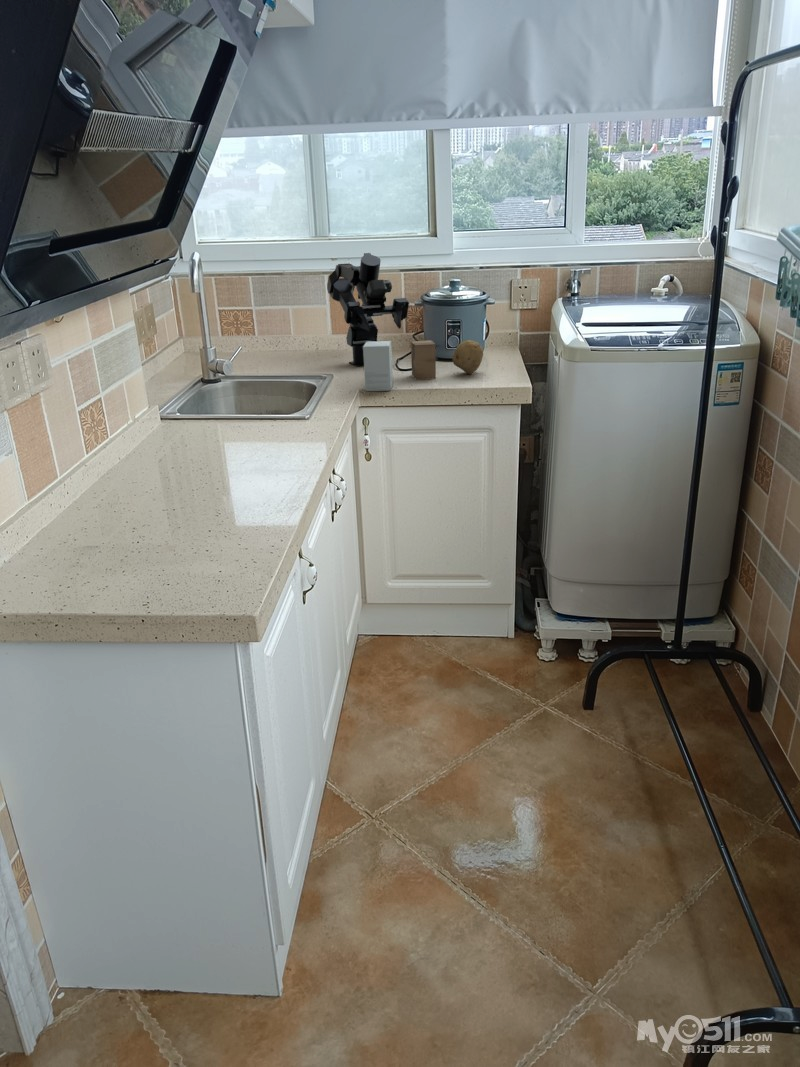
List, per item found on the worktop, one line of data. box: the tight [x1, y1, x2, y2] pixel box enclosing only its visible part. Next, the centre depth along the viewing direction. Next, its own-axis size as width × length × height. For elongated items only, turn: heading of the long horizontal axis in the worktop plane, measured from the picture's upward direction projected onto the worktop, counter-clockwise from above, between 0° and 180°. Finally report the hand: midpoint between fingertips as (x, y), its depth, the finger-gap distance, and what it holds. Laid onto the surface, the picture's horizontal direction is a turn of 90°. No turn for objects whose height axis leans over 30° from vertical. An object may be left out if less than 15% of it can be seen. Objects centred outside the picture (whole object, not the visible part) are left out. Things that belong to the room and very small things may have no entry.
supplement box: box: [363, 340, 394, 392], centre depth 234 cm, size 7×7×13 cm
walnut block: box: [410, 339, 437, 381], centre depth 246 cm, size 6×6×10 cm
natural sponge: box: [452, 339, 484, 375], centre depth 248 cm, size 9×9×10 cm
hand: (385, 328), depth 239 cm, fingers open, 9 cm apart
